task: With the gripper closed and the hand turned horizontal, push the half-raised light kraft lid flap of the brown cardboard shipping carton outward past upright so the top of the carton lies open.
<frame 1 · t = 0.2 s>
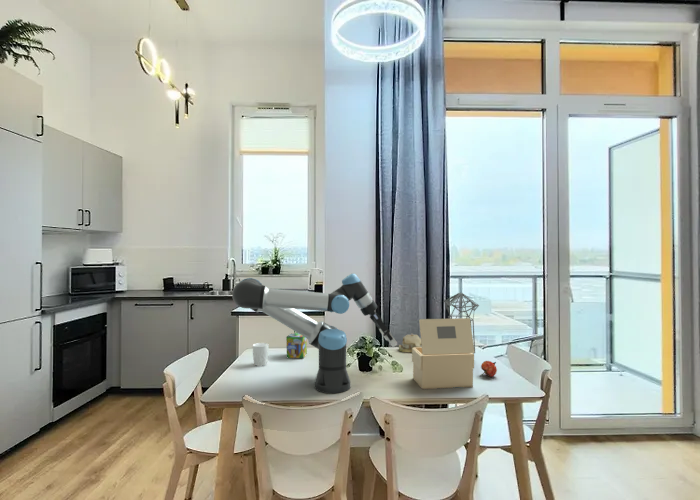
hand: (391, 342, 191), 15 cm above the table, tool tilted 35°, fingers open, 13 cm apart
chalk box: (296, 356, 222), on the table
white cup: (260, 364, 207), on the table
ceramic model: (411, 351, 234), on the table
pomegranate: (488, 376, 189), on the table
carton: (442, 382, 180), on the table
lid flap: (446, 336, 175), point 22 cm above the table, hinge at 70.0°
geometric lantern: (460, 359, 217), on the table
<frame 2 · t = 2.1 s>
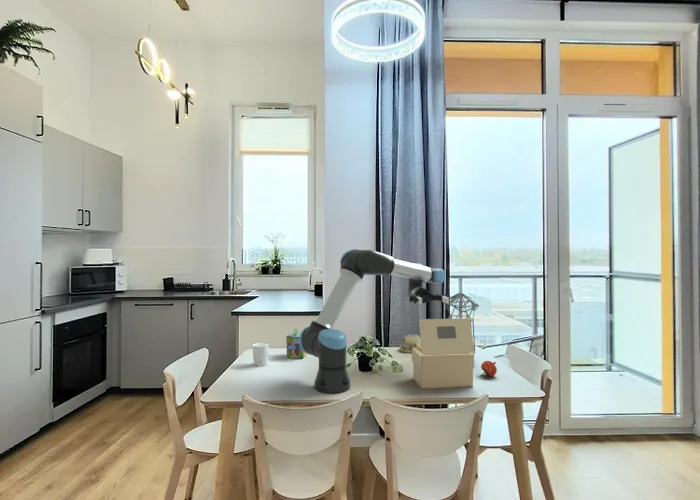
hand: (434, 301, 190), 34 cm above the table, tool horizontal, fingers open, 12 cm apart
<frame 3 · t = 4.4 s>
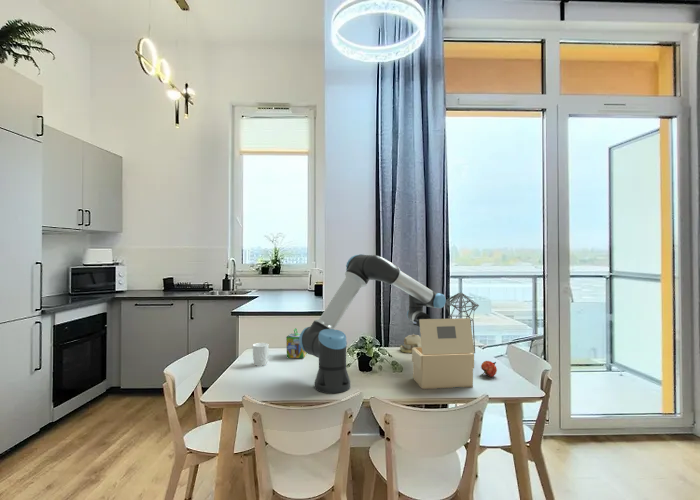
hand: (436, 328, 188), 22 cm above the table, tool horizontal, fingers closed
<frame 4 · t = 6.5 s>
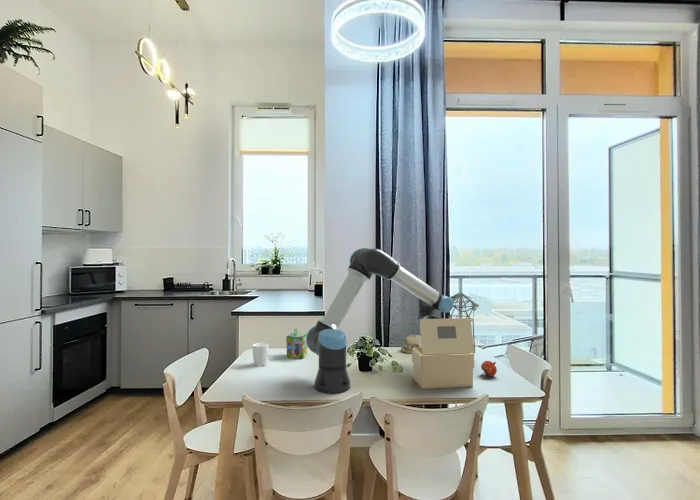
hand: (450, 334, 176), 22 cm above the table, tool horizontal, fingers closed
lid flap: (446, 336, 175), point 22 cm above the table, hinge at 72.5°, touching gripper
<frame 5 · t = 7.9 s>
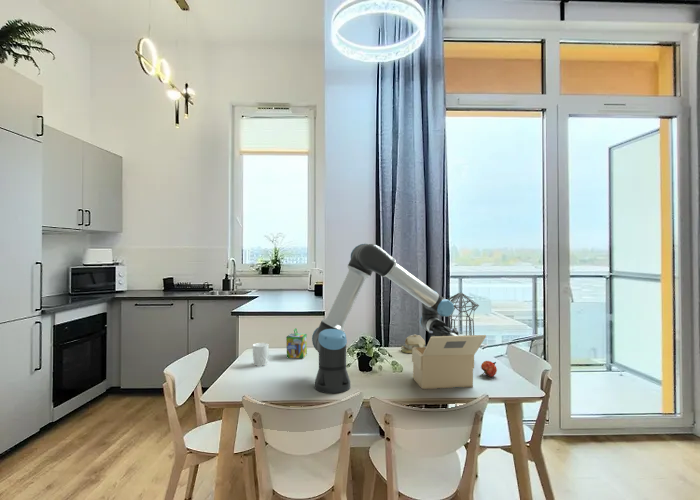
hand: (457, 339, 167), 22 cm above the table, tool horizontal, fingers closed
lid flap: (453, 345, 167), point 19 cm above the table, hinge at 136.6°, touching gripper
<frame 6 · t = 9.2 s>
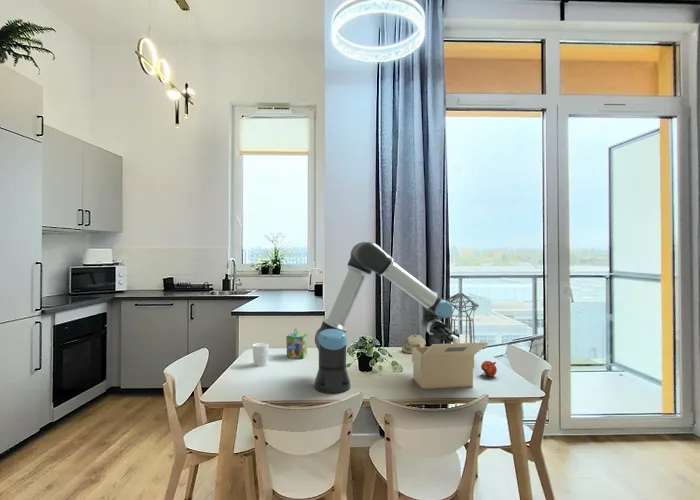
hand: (458, 341, 163), 22 cm above the table, tool horizontal, fingers closed
lid flap: (454, 349, 166), point 18 cm above the table, hinge at 148.9°, touching gripper
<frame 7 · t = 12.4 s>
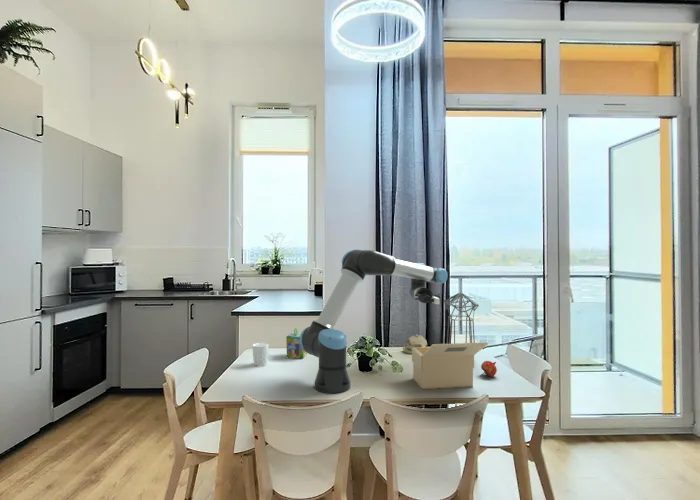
hand: (437, 301, 187), 35 cm above the table, tool horizontal, fingers closed
lid flap: (454, 349, 166), point 18 cm above the table, hinge at 148.9°
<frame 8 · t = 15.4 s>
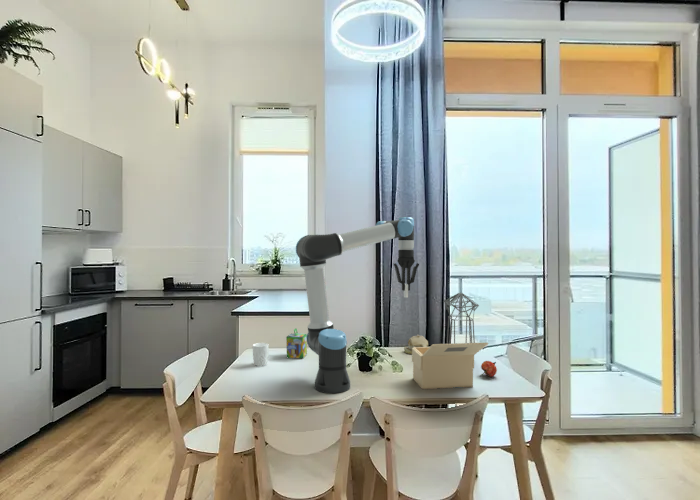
hand: (405, 297, 202), 34 cm above the table, tool pointing down, fingers closed
at the end: lid flap at +149° (first picture: +70°) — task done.
